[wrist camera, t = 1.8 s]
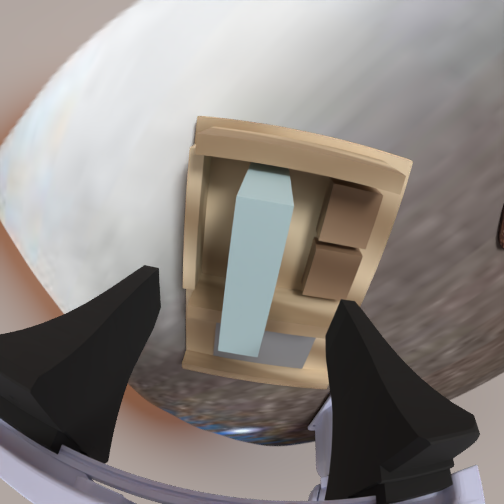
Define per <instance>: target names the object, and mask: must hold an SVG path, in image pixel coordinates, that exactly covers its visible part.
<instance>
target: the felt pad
mask: <svg viewBox="0 0 504 504" xmlns="http://www.w3.org/2000/svg"><path fill="white" fill-rule="evenodd" d="M220 327H221V323H217V322H216V330H215V341H214V353H213V356H218V357H224V358H229V359H235V360H241V361H247V362H254V363H260V364H267V365H275V366H282V367H291V368H300V369H302V368H303V366H304V364H305V361H306V359H307V357H308V355H309V353H310V350H311V348H312V346H313V343H314V341H315V339H316V338H314V337H306V336H298V335H291V334H284V333H277V332H270V331H264V335H263V338H262V342H261V346H260V350H259V354H258V357H252V356H246V355H240V354H234V353H228V352H223V351H218V346H219V337H220Z"/></svg>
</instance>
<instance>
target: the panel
mask: <svg viewBox="0 0 504 504" xmlns="http://www.w3.org/2000/svg"><path fill="white" fill-rule="evenodd" d="M293 208H294V202H293V195H292V188H291V180H290V173H289V168H284V167H278V166H272V165H267V164H261V163H255V162H251V164H250V166H249V169H248V171H247V173H246V175H245V178H244V180H243V182H242V185H241V187H240V189H239V192H238V194H237V197H236V204H235V211H234V219H233V227H232V235H231V242H230V250H229V258H228V267H227V275H226V283H225V292H224V301H223V309H222V318H221V327H220V337H219V346H218V351H223V352H228V353H234V354H240V355H246V356H252V357H258V354H259V350H260V346H261V342H262V338H263V335H264V331H265V327H266V323H267V319H268V315H269V311H270V307H271V303H272V299H273V295H274V291H275V286H276V282H277V278H278V274H279V270H280V266H281V261H282V257H283V253H284V248H285V244H286V240H287V235H288V231H289V226H290V222H291V218H292V213H293Z"/></svg>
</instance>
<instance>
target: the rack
mask: <svg viewBox="0 0 504 504" xmlns="http://www.w3.org/2000/svg"><path fill="white" fill-rule="evenodd" d="M251 162H255V163H261V164H267V165H272V166H278V167H284V168H289V173H290V180H291V188H292V195H293V202H294V208H293V213H292V218H291V222H290V226H289V231H288V235H287V240H286V244H285V248H284V253H283V257H282V261H281V266H280V270H279V274H278V278H277V282H276V286H275V291H274V295H273V299H272V303H271V307H270V311H269V315H268V319H267V323H266V327H265V331H270V332H277V333H284V334H291V335H298V336H306V337H314V338H316V339H315V341H314V343H313V346H312V348H311V350H310V353H309V355H308V357H307V359H306V361H305V364H304V366H303V368H302V369H300V368H291V367H282V366H275V365H267V364H260V363H254V362H247V361H241V360H235V359H229V358H224V357H218V356H213V353H214V341H215V330H216V322H217V323H221V318H222V309H223V301H224V292H225V283H226V275H227V267H228V258H229V250H230V242H231V235H232V227H233V219H234V211H235V204H236V197H237V194H238V192H239V189H240V187H241V185H242V182H243V180H244V178H245V175H246V173H247V171H248V169H249V166H250V164H251ZM412 163H413V161H411V160H409V159H406V158H403V157H400V156H397V155H394V154H391V153H387V152H384V151H381V150H377V149H374V148H371V147H367V146H363V145H360V144H356V143H352V142H349V141H345V140H341V139H337V138H333V137H328V136H324V135H320V134H315V133H310V132H306V131H301V130H296V129H291V128H285V127H280V126H274V125H268V124H262V123H255V122H248V121H241V120H233V119H225V118H216V117H206V116H198V117H197V125H196V134H195V144H194V145H193V146H192V147H190V151H189V163H188V175H187V189H186V206H185V225H184V252H183V288H185V289H186V352H185V355H184V358H183V361H182V368H184V369H188V370H193V371H197V372H202V373H207V374H212V375H217V376H223V377H228V378H234V379H240V380H247V381H253V382H260V383H268V384H275V385H284V386H293V387H304V388H316V389H326V388H327V387H328V385H329V381H328V372H327V364H326V350H325V335H326V333H327V330H328V328H329V326H330V324H331V321H332V319H333V317H334V314H335V312H336V310H337V307H338V305H339V302H340V300H334V299H327V298H321V297H314V296H307V295H302V284H301V281H302V277H303V274H304V270H305V267H306V263H307V260H308V256H309V253H310V249H311V246H312V242H313V238H314V237H318V236H317V232H316V227H317V223H318V219H319V216H320V212H321V208H322V204H323V200H324V196H325V192H326V188H327V184H328V180H329V177H333V178H337V179H341V180H346V181H350V182H354V183H358V184H362V185H366V186H370V187H374V188H377V189H378V190H379V191H380V192H381V194H382V195H383V199H382V202H381V205H380V208H379V211H378V215H377V218H376V221H375V224H374V227H373V230H372V233H371V235H370V238H369V241H368V244H367V247H366V250H365V249H360V248H359V249H360V251H361V254H362V256H363V258H362V260H361V263H360V266H359V268H358V271H357V273H356V276H355V279H354V281H353V284H352V286H351V289H350V291H349V293H348V296H347V298H346V300H351V301H355V302H356V303H357V304H358V305H359V307H360V305H361V303H362V301H363V299H364V297H365V294H366V292H367V290H368V288H369V285H370V283H371V281H372V278H373V276H374V273H375V271H376V269H377V266H378V264H379V261H380V259H381V256H382V254H383V251H384V248H385V246H386V243H387V241H388V238H389V235H390V232H391V230H392V227H393V224H394V221H395V218H396V215H397V212H398V209H399V206H400V203H401V200H402V197H403V194H404V191H405V188H406V184H407V181H408V178H409V174H410V171H411V167H412Z"/></svg>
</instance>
